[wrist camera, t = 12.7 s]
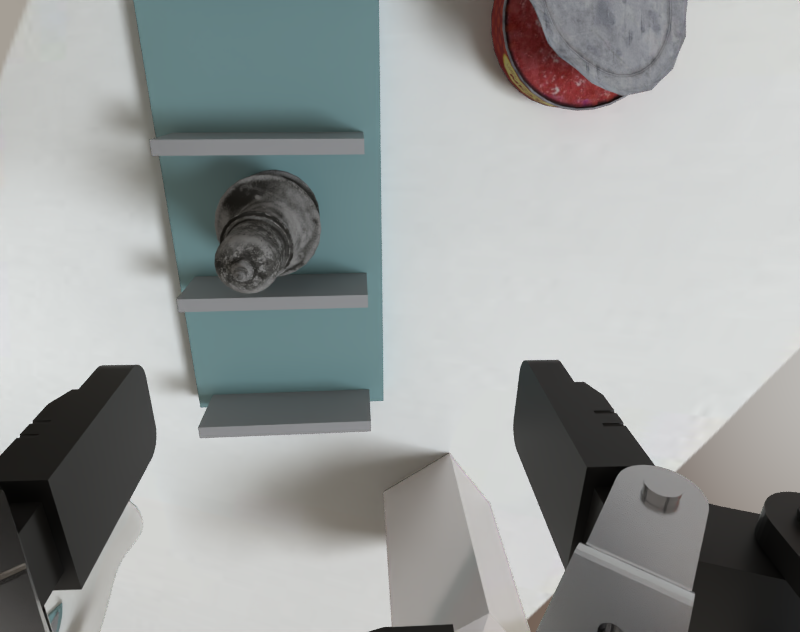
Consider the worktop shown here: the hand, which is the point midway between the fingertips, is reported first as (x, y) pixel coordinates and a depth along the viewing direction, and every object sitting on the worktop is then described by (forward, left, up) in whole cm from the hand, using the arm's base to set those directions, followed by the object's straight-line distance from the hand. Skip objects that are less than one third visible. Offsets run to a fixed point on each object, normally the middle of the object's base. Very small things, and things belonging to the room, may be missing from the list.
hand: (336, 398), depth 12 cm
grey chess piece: (+1, -5, -24) cm, 25 cm away
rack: (+1, -5, -26) cm, 26 cm away
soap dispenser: (+26, +5, -26) cm, 37 cm away
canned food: (-10, +13, -26) cm, 31 cm away
